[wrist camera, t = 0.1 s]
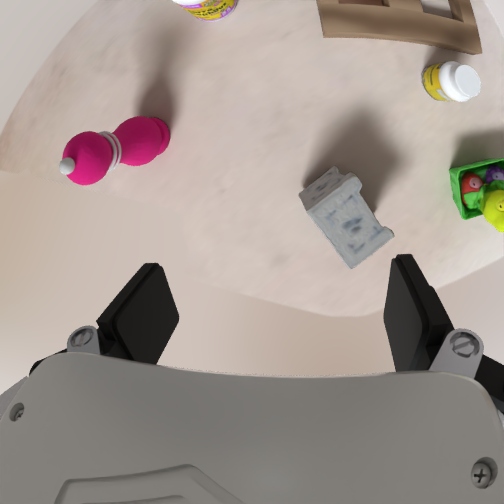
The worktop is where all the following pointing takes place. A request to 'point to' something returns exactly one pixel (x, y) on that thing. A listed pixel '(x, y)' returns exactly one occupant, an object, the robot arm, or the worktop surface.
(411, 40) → the socket board
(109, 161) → the pepper mill
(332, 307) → the worktop surface
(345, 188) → the grey block
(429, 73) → the supplement bottle
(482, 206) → the fruit basket
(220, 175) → the worktop surface
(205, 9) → the supplement bottle
